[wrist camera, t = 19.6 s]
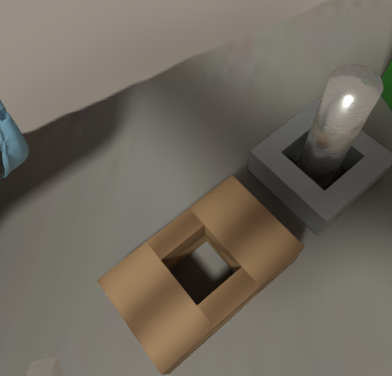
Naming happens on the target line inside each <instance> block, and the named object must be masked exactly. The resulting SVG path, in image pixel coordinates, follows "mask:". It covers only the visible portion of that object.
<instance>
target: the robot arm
mask: <svg viewBox="0 0 392 376" xmlns="http://www.w3.org/2000/svg"><path fill="white" fill-rule="evenodd" d="M28 154H29V148H28V145H27V143H26V141H25V139H24V137H23V135H22V133H21V132H20V130H19V128H18V127H17V125H16V124H15V122H14V120H13V119H12V117H11V116H10V115H9V113H8V112H7V111H6V108H5V107H4V106H3V104H2V102H1V100H0V179H4V178H5V177H7V176H8V174H9V172H11V171H12V170H14V169H15V168H16V167H18V166H19V165H21V164H22V163H23V162H24V161H25V160H26V159H27V157H28ZM26 376H64V373H63V370H62V368H61V365H60V362H59V360H58V357H52V358H47V359H42V360H37V361H32V363H31V365H30V367H29V369H28V371H27V374H26Z"/></svg>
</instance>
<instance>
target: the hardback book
mask: <svg viewBox="0 0 392 376" xmlns="http://www.w3.org/2000/svg"><path fill="white" fill-rule="evenodd" d="M381 80H382V82H383V92H382V94H381V96H382V97H383V99H384V100H385V102H386V103H387V105H388V106H389V108H390V109H391V111H392V61H391V63H390V64H389V66H388V68H387V70H386V72H385V73H384V75H383V77H382V79H381Z"/></svg>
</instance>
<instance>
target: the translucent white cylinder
mask: <svg viewBox="0 0 392 376" xmlns="http://www.w3.org/2000/svg"><path fill="white" fill-rule="evenodd" d="M382 92H383V82H382V80H381V78H380V76H379V75H378V74H377V73H376V72H375V71H373V70H372V69H370V68H368V67H365V66H362V65H357V64H349V65H344V66H341V67H339V68H337V69H335V70H334V71H333V72H332V74H331V75H330V78H329V80H328V83H327V86H326V88H325V91H324V94H323V97H322V99H321V102H320V105H319V107H318V110H317V113H316V115H315V118H314V121H313V123H312V126H311V129H310V132H309V134H308V137H307V140H306V142H305V145H304V148H303V150H302V153H301V156H300V159H299V161H298V164H297V167H298V168H299V169H300V170H302V171H303V172H304V173H305V174H306V175H307V176H308V177H310V178H311V179H312V180H313V181H314V182H315V183H316V184H317V185H319V186H320V187H321V188H324V187H326V186H327V185H328V184H329V183H330V181H331V180H332V178H333V176H334V174H335V173H336V171H337V169H338V168H339V166H340V164H341V163H342V161H343V159H344V157H345V156H346V154H347V152H348V151H349V149H350V147H351V145H352V144H353V142H354V140H355V139H356V137H357V135H358V134H359V132H360V130H361V128H362V127H363V125H364V123H365V122H366V120H367V118H368V116H369V115H370V113H371V111H372V110H373V108H374V106H375V104H376V103H377V101H378V99H379V98H380V96H381V94H382Z"/></svg>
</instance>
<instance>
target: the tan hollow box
mask: <svg viewBox="0 0 392 376" xmlns="http://www.w3.org/2000/svg"><path fill="white" fill-rule="evenodd" d="M206 241H207V242H208V243H209V244H210V245H211V247H212V248H213V249H214V250H215V251H216V252H217V253H218V254H219V256H220V257H221V258H222V259H223V260H224V261H225V262H226V264H227V265H228V266H229V267H230V268H231V269H232V270H233V271H234V274H233V275H232V276H231V277H229V278H228V279H227V280H226V281H225V282H224V283H222V284H221V285H220V286H219V287H218V288H217V289H216V290H214V291H213V292H212V293H211V294H210V295H209V296H207V297H206V298H205V299H204V300H203V301H202V302H201V303H199V304H198V305H196V304H195V303H194V301H193V300H192V299H191V298H190V296H189V295H188V294H187V293H186V291H185V290H184V289H183V287H182V286H181V285H180V284H179V282H178V281H177V280H176V279H175V277H174V276H173V275H172V274H171V272H170V270H171V269H173V268H174V267H175V266H176V265H178V264H179V263H180V262H181V261H182V260H184V259H185V258H186V257H187V256H189V255H190V254H191V253H192V252H193V251H195V250H196V249H197V248H198V247H200V246H201V245H202V244H203V243H204V242H206ZM303 248H304V245H303V244H302V243H301V242H300V241H299V240H298V239H297V238H296V237H295V236H294V235H293V234H292V233H291V232H290V231H289V230H288V229H287V228H286V227H285V226H283V225H282V224H281V223H280V222H279V221H278V220H277V219H276V218H275V217H274V216H273V215H272V214H271V213H270V212H269V211H268V210H267V209H266V208H265V207H264V206H263V205H262V204H261V203H260V202H259V201H258V200H257V199H256V198H255V197H254V196H253V195H252V194H251V193H250V192H249V191H248V190H247V189H246V188H245V187H244V186H243V185H242V184H241V183H240V182H239V181H238V180H237V179H236V178H235V177H234V176H233V175H231V176H230V177H228V178H227V179H226V180H225V181H223V182H222V183H221V184H220V185H218V186H217V187H216V188H214V189H213V190H212V191H211V192H209V193H208V194H207V195H205V196H204V197H203V198H202V199H200V200H199V201H198V202H196V203H195V204H194V205H193V206H191V207H190V208H189V209H187V210H186V211H185V212H184V213H182V214H181V215H180V216H179V217H177V218H176V219H175V220H173V221H172V222H171V223H170V224H168V225H167V226H166V227H164V228H163V229H162V230H161V231H159V232H158V233H157V234H155V235H154V236H153V237H152V238H150V239H149V240H148V241H147V242H145V243H144V244H143V245H141V246H140V247H139V248H138V249H136V250H135V251H134V252H132V253H131V254H130V255H129V256H127V257H126V258H125V259H123V260H122V261H121V262H120V263H118V264H117V265H116V266H114V267H113V268H112V269H111V270H109V271H108V272H107V273H106V274H104V275H103V276H102V277H100V278H99V279H98V280H97V281H98V283H99V284H100V286H101V287H102V289H103V290H104V292H105V293H106V295H107V296H108V297H109V299H110V300H111V302H112V303H113V305H114V306H115V308H116V309H117V311H118V312H119V313H120V315H121V316H122V318H123V319H124V321H125V322H126V324H127V325H128V327H129V328H130V329H131V331H132V332H133V334H134V335H135V337H136V338H137V340H138V341H139V343H140V344H141V345H142V347H143V348H144V350H145V351H146V353H147V354H148V356H149V357H150V359H151V360H152V362H153V363H154V364H155V366H156V367H157V369H158V370H159V372H160V373H161V375H164V374H170V373H171V372H172V371H173V370H174V369H175V368H176V367H177V366H179V365H180V364H181V363H182V362H183V361H184V360H185V359H186V358H187V357H189V356H190V355H191V354H192V353H193V352H194V351H195V350H196V349H197V348H198V347H200V346H201V345H202V344H203V343H204V342H205V341H206V340H207V339H208V338H210V337H211V336H212V335H213V334H214V333H215V332H216V331H217V330H218V329H220V328H221V327H222V326H223V325H224V324H225V323H226V322H227V321H228V320H229V319H231V318H232V317H233V316H234V315H235V314H236V313H237V312H238V311H239V310H241V309H242V308H243V307H244V306H245V305H246V304H247V303H248V302H249V301H250V300H252V299H253V298H254V297H255V296H256V295H257V294H258V293H259V292H260V291H262V290H263V289H264V288H265V287H266V286H267V285H268V284H269V283H270V282H271V281H273V280H274V279H275V278H276V277H277V276H278V275H279V274H280V273H281V272H283V271H284V270H285V269H286V268H287V267H288V266H289V265H290V264H291V263H293V262H294V261H295V259H296V258H297V257H298V255H299V254H300V252H301V251H302V249H303Z"/></svg>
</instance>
